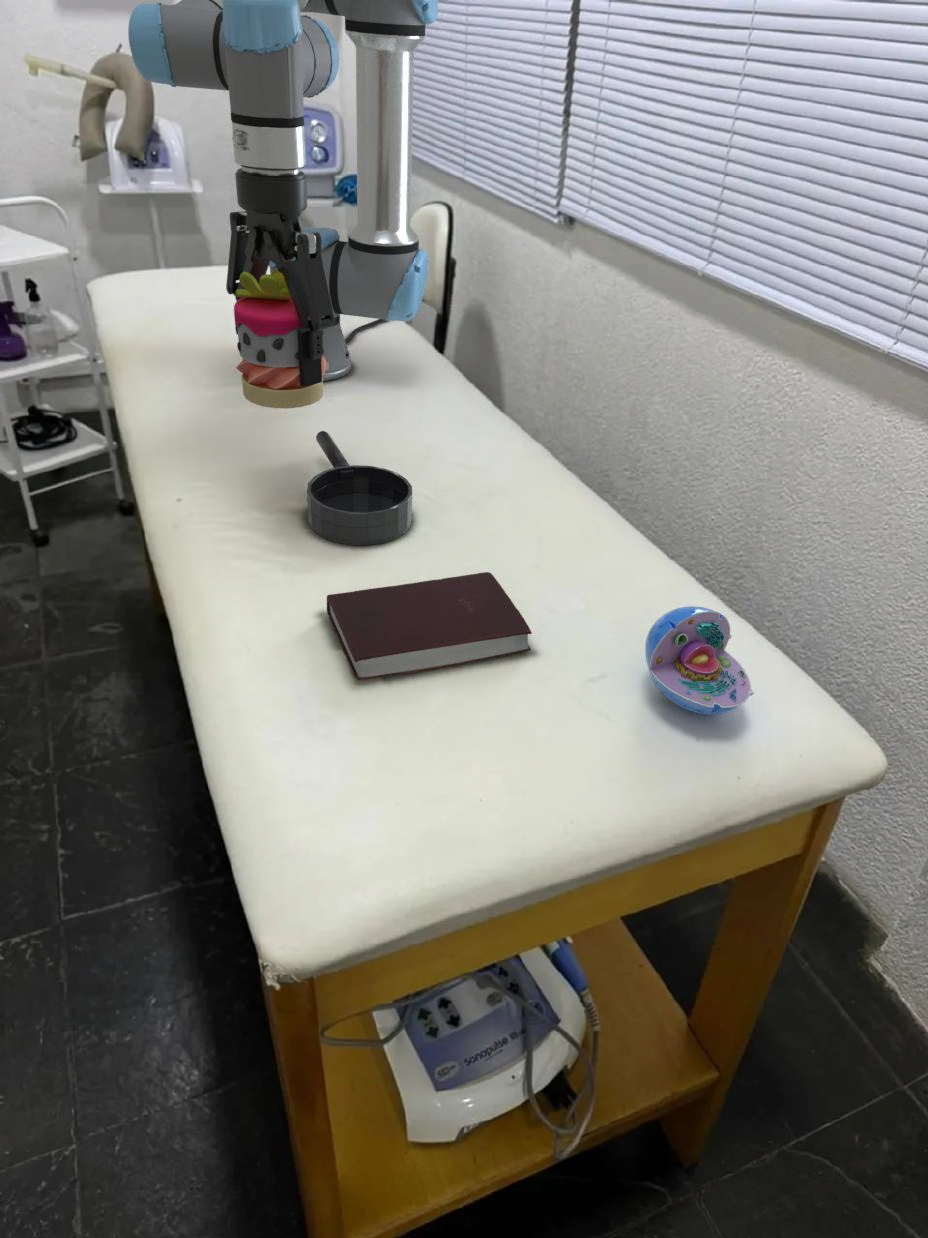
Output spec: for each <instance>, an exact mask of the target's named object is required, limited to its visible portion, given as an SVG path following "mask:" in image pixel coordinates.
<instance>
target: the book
mask: <svg viewBox="0 0 928 1238" xmlns="http://www.w3.org/2000/svg"><path fill="white" fill-rule="evenodd" d="M326 612H327V615H328V617H329V620H330V624H331V626H332V629H333V630H334V633H335V635H336V637H337V639H338V641H339V644H340V647H341V649H342V652H343V654H344V655H345V658H346V661H347V664H348V665H349V667H350V671H351V672H352V675H353V676H354V678H355V680H357V681H364V680H365V681H367V680H374V679H380V678H381V679H382V678H387V677H392V676H399V675H400V676H401V675H404V674H405V675H406V674H412V673H419V672H424V671H429V670H430V671H431V670H436V669H443V668H449V667H454V666H461V665H466V664H472V663H477V662H481V661H482V662H483V661H487V660H493V659H497V658H502V657H508V656H512V655H517V654H521V653H526V652H530V651H531V650H532V648H531V647H530V646H529V643H528V642H529V639H528V638H529V635H531V634H532V633H533V632H532V631H531V629H530V626H529V625H528V623H527V622H526V620H525V618H524V617H523V615H522V614H521V612H520V610H519V609H518V607H516V605H515V604H514V602H513V601H512V599H511V598H510V597H509V595H508V594H507V592H506V591H505V589H504V588H503V587H502V585H501V584H500V582H499V581H498V579H496V577H495V576H494V575H493V573H491V572H489V571H486V572H485V571H484V572H478V573H472V574H465V575H458V576H451V577H444V578H440V579H439V578H438V579H431V580H424V581H416V582H412V583H411V582H410V583H404V584H397V585H388V586H382V587H374V588H368V589H367V588H366V589H359V590H353V591H347V592H340V593H339V592H338V593H331V594H327V595H326Z"/></svg>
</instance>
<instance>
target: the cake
mask: <svg viewBox="0 0 928 1238" xmlns="http://www.w3.org/2000/svg"><path fill="white" fill-rule="evenodd" d="M238 282H240V284H241V285H242V286H243V287H244V288H245V289H246V290H245V289H237V290H236V296H237V297H242V298H240V299H239V300H238V301H236V302H235V303H234V305H233V316H234V326H235V334H236V335H237V340H238V341H237V345H236V346H237V347H236V348H237V351H238V352H239V355H240V357H241V358H242V360H241V361H240V363H238V364H237V366H236V369H237V371H239V372H240V373H242V375H241V383H242V394H243V396H244V398H245V400H247V401H249V402H250V403H252V404H254V405H257V406H260V407H264V408H271V409H297V408H303V407H306V406H311V405H313V404H315V403H317V402H319V401H320V400H321V399H322V398H323V397H324V381H323V376H324V374H325V371H326V360H325V358H324V356H322V358H321V364H322V382H321V383H317V384H314V385H310V386H306V387H303V386H301V385H300V374H299V353H298V332H297V330H298V329H299V328H301V327H302V325H301V323H300V320H299V317H298V314H297V312H296V309H295V306H294V303H293V301H292V298H291V295H290V292H289V290H288V287H287V284H286V281H285V279H284V276H283V274H282V273H280V272H279V271H278V270H277V271H275V272H273V273H272V274H271V275H270V274H267V273H266V275H262V276H261V278H260V281H259V284H258V282H257V281H256V279H255V278H254V276H252V275H251V274H250V273H248V272H243V273H242V274H241V275H240V277H239V280H238ZM309 320H311V318H310V316H309ZM322 335H323V332H322ZM322 346H323V345H322ZM323 354H324V349H323Z"/></svg>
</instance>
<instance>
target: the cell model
mask: <svg viewBox="0 0 928 1238" xmlns="http://www.w3.org/2000/svg"><path fill="white" fill-rule="evenodd" d="M645 638H646V639H645V642H644V644H645V645H644V654H645V655H644V656H645V661H646V665H647V669H648V672H649V675H650V677H651V679H652V682H653V683H654V685H655V686H656V688H657V689H658V690H659V691H660V693H661V694H663V696H665V697H666V699H668V700H669V701H671V702H672V703H673V704H675V705H676V706H678V707H679V708H682V709H685V710H688V711H690V712H692V713H697V714H702V715H710V716H712V715H713V716H714V715H722V714H725V713H726V714H727V713H729V712H732V711H734V710H736V709H737V708H738V707H740V706H741V705H743V704H744V703H746V702H747V701H748V699H749V698H750V697H751V696H752V695H754V694H755V691H754V690H752V685H751V680H750V678H749V675H748V673H747V672H746V669H744V667H743V666H742V664H741V663H739V661H738V660H737V659H736V658H734V656H733V655H731V654H730V653H729V652H727V651H726V647H727V646H728V643H729V642H730V640H731V638H732V634H731V624H730V622H729V620H728V618H727V617H726V616H725V614H723V613H721V612H718V611H716V610H713V609H710V608H707V607H703V606H695V605H691V606H690V605H689V606H682V607H676V608H673V609H671V610H669V611H667V612H665V613H664V614H662V615H661V616H660V617H658V618H657V619H656V621H655V622H654V623H653V624H652V626H651V627H650V629H649V630H648V633H647V636H646V637H645Z"/></svg>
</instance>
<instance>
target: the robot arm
mask: <svg viewBox="0 0 928 1238" xmlns="http://www.w3.org/2000/svg"><path fill="white" fill-rule="evenodd" d="M439 1H440V0H180V1H177V3H174V4H165V3H164V4H163V3H161V2H156V3H140V4H138V5H136V6H135V7H134V8H133V10H132V11H131V14H130V18H129V20H128V29H127V32H128V33H127V35H128V45H129V48H130V53H131V58H132V61H133V64H134V66H135V67H136V70H137V71H138V72H139V74H140V75H141V77H142V78H144V79H145V80H147V81H148V82H149V83H155V84H162V85H168V86H171V87H172V88H177V87H180V88H181V87H182V88H193V89H204V90H205V89H206V90H217V91H228V96H229V106H230V120H231V129H232V138H231V139H232V143H233V156H234V157H233V158H234V162H235V164H237V166H239V167H240V168H238V169H237V170H236V172H235V173H234V176H235V187H236V201H237V204H238V205H237V206H238V207H239V208H241V209H242V210H239V211H231V212H230V213H229V223H230V225H229V226H230V232H231V233H230V241H229V242H230V244H229V253H228V264H227V273H226V284H225V287H226V288H225V289H226V292H227V294H228V295H233V296H234V298H235V301H236V302H237V301H238V300H239V299H240V298H242V297H237V296H236V290H237V289H245V288H244V287H243V286H242V285H241V284H240V281H239V277H240V275H241V274H242V273H243V272H248V273H250V274H251V275H252V276H254V278H255V279H256V281H257V282H258V284H259V281H260V278H261V276H262V275H266V274H267V272H268V269H269V273H270V274H269V275H271V274H272V273H273V272H275V271H277V270H278V271H279V272H280V273H282V274H283V276H284V279H285V281H286V284H287V287H288V290H289V292H290V295H291V298H292V301H293V303H294V306H295V309H296V312H297V314H298V317H299V320H300V323H301V325H302V327H301V328H299V329H298V330H297V332H298V353H299V374H300V385H301V386H303V387H306V386H310V385H314V384H317V383H321V382H322V364H321V358H322V356H324V358H325V360H326V371H325V374H324V376H323V382H327V381H332V380H337V379H339V378H342V377H344V376H346V375H347V374H349V372H350V371H351V369H352V363H351V362H352V359H351V354H350V352H349V349H348V345H347V343H349V342H350V341H351V340H352V339H353V337H354V336H355V335H356V333H358V332H360V331H362V330H364V329H365V330H366V329H368V328H371V327H373V326H376V325H378V324H381V323H384V322H390V321H396V322H409V321H411V320H413V319H414V318H415V317H416V315H417V313H418V312H419V309H420V307H421V303H422V301H423V297H424V293H425V290H426V285H427V279H428V273H429V266H430V265H429V263H430V261H429V252H428V251H426V250H424V249H423V248H420V247H419V246H420V236H419V234H417V232H416V231H415V230H414V228H413V227H412V226H411V201H412V200H411V197H412V196H411V195H412V191H411V190H412V164H413V163H412V159H413V158H412V156H413V122H414V121H413V117H414V86H415V85H414V82H415V81H414V79H415V75H414V74H415V52H416V50H417V48H418V47H419V46H420V45H421V44H422V43H423V41H424V40H425V39H426V25H427V26H429V25H431V24H434V23H435V22H436V20H437V17H438V12H439ZM301 13H314V14H324V15H332V16H340V17H344V33H345V34H346V36H347V37H348V38H349V40H350V41H351V42H352V43H353V44H354V48H355V96H356V98H355V99H356V100H355V105H356V106H355V107H356V111H355V112H356V114H355V116H356V119H355V120H356V203H357V204H356V205H357V206H356V207H357V208H356V210H357V212H356V213H357V214H356V215H357V219H356V220H357V222H356V224H355V225H354V226H353V227H352V228H351V229H350V230H349V231H348V234H347V237H348V238H347V240H348V241H342V240H340V238H341V236H340V235H339V231H338V229H335V228H330V227H307V228H306V227H305V228H303V225H302V221H301V214H302V213H303V212H304V211H305V210H306V209H307V207H308V187H307V185H308V184H307V175H306V174H305V173H304V171H302V169H304V168H305V166H306V165H307V147H306V146H307V145H306V129H305V127H306V126H305V109H304V108H305V107H304V103H305V102H304V99H305V98H307V99H311V98H314V97H315V96H319V95H320V94H321V93H323V92H324V91H326V90H327V89H329V87H330V86H331V85H332V84H333V83H334V82H335V80H336V77H337V76H338V72H339V68H340V67H339V66H340V52H339V51H340V50H339V47H338V44H337V41H336V39H335V37H334V34H333V33H332V32H331V30H330V29H329V28H328V27H327V26H326V25H325V24H324V23H323V22H322V21H320V20H318V19H316V18H313V17H312V16H309V15H307V14H305V15H301ZM245 290H246V289H245ZM341 315H343V316H351V317H352V316H353V317H358V318H359V317H360V318H368V319H376V320H374V321H372V322H371V321H370V322H368V323H365V324H362V325H361V326H358V327H356V328H354V329H353V330H352V331H351V332H350V334H349V335H348V336H347V337H346V338H345V336H344V333H343V329H342V327H341ZM309 316H310V318H311V320H309ZM322 332H323V335H322ZM322 345H323V346H322ZM323 349H324V354H323Z"/></svg>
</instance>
